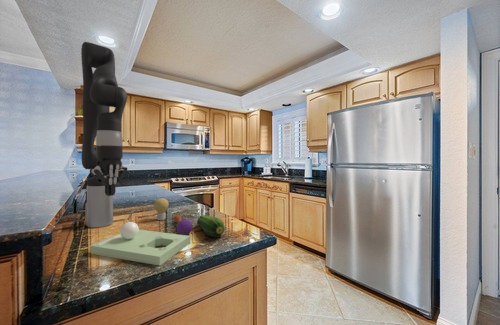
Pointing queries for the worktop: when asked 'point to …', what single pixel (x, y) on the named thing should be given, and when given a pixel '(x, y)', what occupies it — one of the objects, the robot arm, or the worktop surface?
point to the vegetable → (211, 225)
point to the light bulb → (161, 208)
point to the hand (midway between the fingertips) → (110, 195)
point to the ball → (129, 230)
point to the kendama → (183, 225)
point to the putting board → (142, 247)
